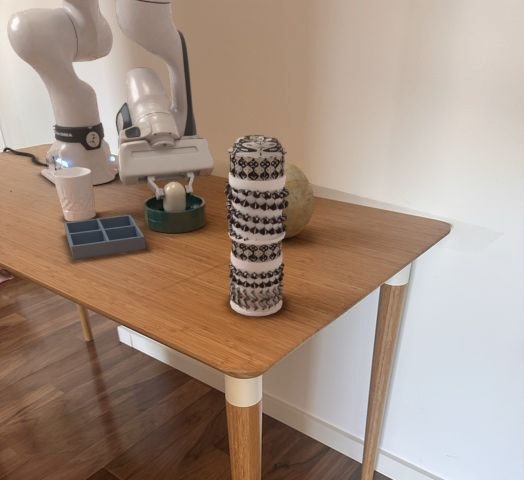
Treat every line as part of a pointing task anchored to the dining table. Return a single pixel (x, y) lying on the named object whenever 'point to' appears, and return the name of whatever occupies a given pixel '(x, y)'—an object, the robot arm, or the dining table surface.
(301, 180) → the fossilized egg
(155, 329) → the dining table surface
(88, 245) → the divided tray
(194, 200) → the bowl
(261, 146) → the decorative candle
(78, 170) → the white cup
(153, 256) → the dining table surface
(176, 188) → the cream capsule
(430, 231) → the dining table surface
